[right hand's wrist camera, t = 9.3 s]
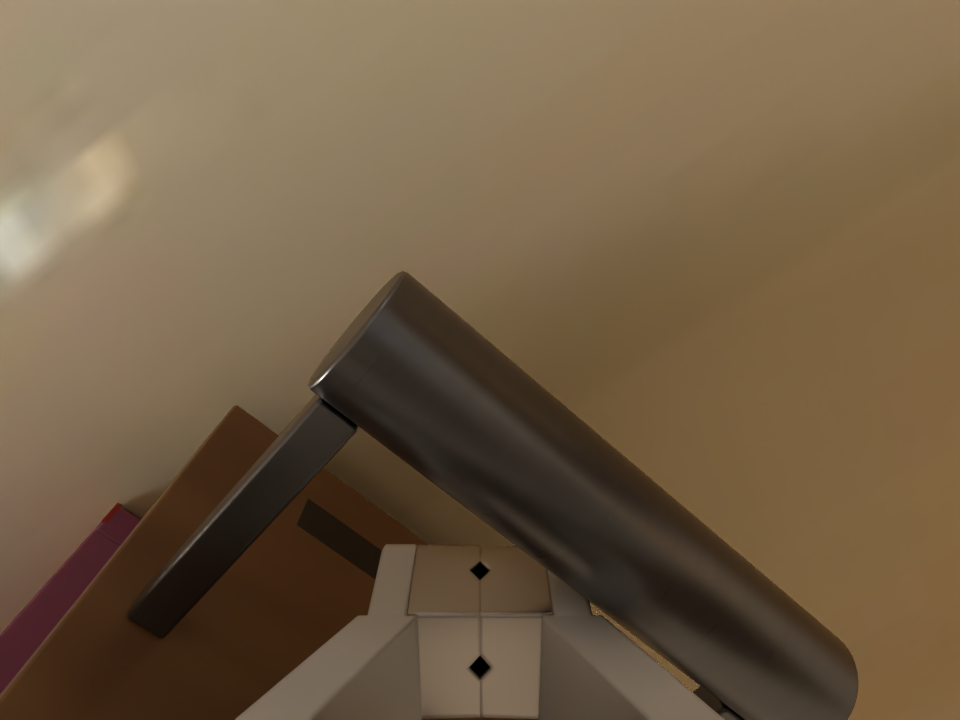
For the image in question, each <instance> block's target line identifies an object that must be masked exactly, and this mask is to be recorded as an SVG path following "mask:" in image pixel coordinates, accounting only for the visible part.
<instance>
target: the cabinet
mask: <svg viewBox="0 0 960 720" xmlns="http://www.w3.org/2000/svg"><path fill="white" fill-rule="evenodd" d="M139 522H140V519H139V518H137V517H135V516H134V515H132V514H131V513H129V512H128V511H126V510H125V509H123V508H122V505H121V504H119V503H117V504H116V505H115V507H114V508H113V509H112V510H111V511H110V512H109V513H108V514H107V516H106V517H105V518H104V519H103V520H102V521H101V522H100V524H99V525H98V526H97V527H96V528H95V530H94V531H93V532H92V533H91V534H90V535H89V536H88V537H87V539H86V540H85V541H84V542H83V543H82V544H81V545H80V546H79V548H78V549H77V550H76V551H75V552H74V553H73V554H72V555H71V556H70V558H69V559H68V560H67V561H66V562H65V563H64V564H63V565H62V566H61V568H60V569H59V570H58V571H57V572H56V573H55V574H54V575H53V577H52V578H51V579H50V580H49V581H48V582H47V583H46V584H45V585H44V587H43V588H42V589H41V590H40V591H39V592H38V593H37V594H36V595H35V597H34V598H33V599H32V600H31V601H30V602H29V603H28V604H27V605H26V607H25V608H24V609H23V610H22V611H21V612H20V613H19V614H18V616H17V617H16V618H15V619H14V620H13V621H12V622H11V623H10V624H9V626H8V627H7V628H6V629H5V630H4V631H3V632H2V633H1V634H0V694H1V693H2V691H3V690H4V689H5V688H6V686H7V685H8V684H9V683H10V681H11V680H12V679H13V678H14V676H15V675H16V674H17V673H18V672H19V670H20V669H21V668H22V667H23V665H24V664H25V663H26V662H27V660H28V659H29V658H30V657H31V655H32V654H33V653H34V652H35V650H36V649H37V648H38V647H39V646H40V644H41V643H42V642H43V641H44V639H45V638H46V637H47V636H48V634H49V633H50V632H51V631H52V629H53V628H54V627H55V626H56V624H57V623H58V622H59V621H60V620H61V618H62V617H63V616H64V615H65V613H66V612H67V611H68V610H69V608H70V607H71V606H72V605H73V603H74V602H75V601H76V600H77V598H78V597H79V596H80V595H81V594H82V592H83V591H84V590H85V589H86V587H87V586H88V585H89V584H90V582H91V581H92V580H93V579H94V577H95V576H96V575H97V574H98V572H99V571H100V570H101V569H102V568H103V566H104V565H105V564H106V563H107V561H108V560H109V559H110V558H111V556H112V555H113V554H114V553H115V551H116V550H117V549H118V548H119V546H120V545H121V544H122V543H123V542H124V540H125V539H126V538H127V537H128V535H129V534H130V533H131V532H132V530H133V529H134V528H135V527H136V525H137V524H138V523H139Z"/></svg>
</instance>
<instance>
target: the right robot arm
mask: <svg viewBox="0 0 960 720" xmlns="http://www.w3.org/2000/svg"><path fill="white" fill-rule="evenodd" d="M471 717H487V718H522V719H539V720H725V719H724V718H722V717H721V716H720V715H719V714H718V713H716V712H715V711H714V710H713V709H712V708H711V707H709V706H708V705H707V704H706V703H705V702H704V701H702V700H701V699H700V698H699V697H698V696H696V695H695V694H694V693H693V692H692V691H691V690H689V689H688V688H687V687H686V686H685V685H683V684H682V683H681V682H680V681H679V680H678V679H676V678H675V677H674V676H673V675H672V674H670V673H669V672H668V671H667V670H666V669H665V668H663V667H662V666H661V665H660V664H659V663H658V662H656V661H655V660H654V659H653V658H652V657H650V656H649V655H648V654H647V653H646V652H645V651H643V650H642V649H641V648H640V647H639V646H637V645H636V644H635V643H634V642H633V641H632V640H630V639H629V638H628V637H627V636H626V635H625V634H623V633H622V632H621V631H620V630H619V629H617V628H616V627H615V626H614V625H613V624H612V623H610V622H609V621H608V620H607V619H606V618H604V617H603V616H599V615H592V611H591V606H590V602H589V601H588V600H587V599H586V598H584V597H583V596H582V595H580V594H579V593H578V592H576V591H575V590H574V589H572V588H571V587H570V586H568V585H567V584H566V583H565V582H563V581H562V580H561V579H559V578H558V577H557V576H555V575H554V574H553V573H551V572H550V571H549V570H547V569H546V568H545V567H543V566H542V565H541V564H540V563H538V562H537V561H536V560H534V559H533V558H532V557H530V556H529V555H528V554H526V553H525V552H524V551H522V550H521V549H520V548H518V547H517V546H473V545H427V544H418V546H417V545H416V544H386V545H385V546H384V548H383V549H382V553H381V557H380V562H379V566H378V570H377V575H376V579H375V584H374V588H373V593H372V597H371V602H370V606H369V611H368V615H361V616H357V617H356V618H354V619H353V620H352V621H351V622H350V623H348V624H347V625H346V626H345V627H344V628H343V629H341V630H340V631H339V632H338V633H337V634H335V635H334V636H333V637H332V638H331V639H329V640H328V641H327V642H326V643H325V644H324V645H322V646H321V647H320V648H319V649H318V650H316V651H315V652H314V653H313V654H312V655H311V656H309V657H308V658H307V659H306V660H305V661H303V662H302V663H301V664H300V665H299V666H298V667H296V668H295V669H294V670H293V671H292V672H290V673H289V674H288V675H287V676H286V677H284V678H283V679H282V680H281V681H280V682H279V683H277V684H276V685H275V686H274V687H273V688H271V689H270V690H269V691H268V692H267V693H266V694H264V695H263V696H262V697H261V698H260V699H258V700H257V701H256V702H255V703H254V704H252V705H251V706H250V707H249V708H248V709H247V710H245V711H244V712H243V713H242V714H241V715H239V716H238V717H237V718H236V719H235V720H421V719H437V718H471Z"/></svg>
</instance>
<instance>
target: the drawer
mask: <svg viewBox="0 0 960 720" xmlns="http://www.w3.org/2000/svg"><path fill="white" fill-rule="evenodd" d="M308 386H309V388H310V390H312V391H313V392H314V393H316V395H315V396H314V397H313V398H312V399H311V400H310V401H309V402H308V404H307V405H306V406H305V407H304V408H303V409H302V410H301V412H300V413H299V414H298V415H297V416H296V417H295V418H294V419H293V421H292V422H291V423H290V424H289V425H288V426H287V427H286V428H285V430H284V431H283V432H282V433H281V434H280V435H277V434H276V433H275V432H273V431H272V430H270V429H269V428H268V427H266V426H265V425H264V424H262V423H261V422H259V421H258V420H257V419H255V418H254V417H253V416H251V415H250V414H248V413H247V412H246V411H244V410H243V409H242V408H240V407H239V406H237V405H236V406H234V407H233V408H232V409H231V410H230V411H229V413H228V414H227V415H226V416H225V417H224V419H223V420H222V421H221V422H220V423H219V425H218V426H217V427H216V428H215V429H214V430H213V432H212V433H211V434H210V435H209V436H208V438H207V439H206V440H205V441H204V442H203V444H202V445H201V446H200V447H199V449H198V450H197V451H196V452H195V454H194V455H193V456H192V457H191V459H190V460H189V461H188V462H187V463H186V465H185V466H184V467H183V468H182V470H181V471H180V472H179V473H178V475H177V476H176V477H175V478H174V480H173V481H172V482H171V483H170V485H169V486H168V487H167V488H166V489H165V491H164V492H163V493H162V494H161V496H160V497H159V498H158V499H157V501H156V502H155V503H154V504H153V506H152V507H151V508H150V509H149V511H148V512H147V513H146V514H145V515H144V517H143V518H142V519H141V520H140V522H139V523H138V524H137V525H136V527H135V528H134V529H133V530H132V532H131V533H130V534H129V535H128V537H127V538H126V539H125V540H124V542H123V543H122V544H121V545H120V546H119V548H118V549H117V550H116V551H115V553H114V554H113V555H112V556H111V558H110V559H109V560H108V561H107V563H106V564H105V565H104V566H103V568H102V569H101V570H100V571H99V572H98V574H97V575H96V576H95V577H94V579H93V580H92V581H91V582H90V584H89V585H88V586H87V587H86V589H85V590H84V591H83V592H82V594H81V595H80V596H79V597H78V598H77V600H76V601H75V602H74V603H73V605H72V606H71V607H70V608H69V610H68V611H67V612H66V613H65V615H64V616H63V617H62V618H61V620H60V621H59V622H58V623H57V624H56V626H55V627H54V628H53V629H52V631H51V632H50V633H49V634H48V636H47V637H46V638H45V639H44V641H43V642H42V643H41V644H40V646H39V647H38V648H37V649H36V650H35V652H34V653H33V654H32V655H31V657H30V658H29V659H28V660H27V662H26V663H25V664H24V665H23V667H22V668H21V669H20V670H19V672H18V673H17V674H16V675H15V676H14V678H13V679H12V680H11V681H10V683H9V684H8V685H7V686H6V688H5V689H4V690H3V691H2V693H1V694H0V720H235V719H236V718H237V717H238V716H239V715H241V714H242V713H243V712H244V711H245V710H247V709H248V708H249V707H250V706H251V705H252V704H254V703H255V702H256V701H257V700H258V699H260V698H261V697H262V696H263V695H264V694H266V693H267V692H268V691H269V690H270V689H271V688H273V687H274V686H275V685H276V684H277V683H279V682H280V681H281V680H282V679H283V678H284V677H286V676H287V675H288V674H289V673H290V672H292V671H293V670H294V669H295V668H296V667H298V666H299V665H300V664H301V663H302V662H303V661H305V660H306V659H307V658H308V657H309V656H311V655H312V654H313V653H314V652H315V651H316V650H318V649H319V648H320V647H321V646H322V645H324V644H325V643H326V642H327V641H328V640H329V639H331V638H332V637H333V636H334V635H335V634H337V633H338V632H339V631H340V630H341V629H343V628H344V627H345V626H346V625H347V624H348V623H350V622H351V621H352V620H353V619H354V618H356V617H357V616H361V615H368V611H369V606H370V602H371V597H372V593H373V588H374V584H375V579H376V575H377V570H378V566H379V562H380V557H381V553H382V549H383V548H384V546H385V545H386V544H416V545H417V546H418V544H427V543H426V542H424V541H423V540H421V539H420V538H419V537H417V536H416V535H415V534H413V533H412V532H411V531H409V530H408V529H406V528H405V527H404V526H402V525H401V524H400V523H398V522H397V521H395V520H394V519H393V518H391V517H390V516H389V515H387V514H386V513H384V512H383V511H382V510H380V509H379V508H378V507H376V506H375V505H373V504H372V503H371V502H369V501H368V500H367V499H365V498H364V497H362V496H361V495H360V494H358V493H357V492H356V491H354V490H353V489H351V488H350V487H349V486H347V485H346V484H345V483H343V482H342V481H340V480H339V479H338V478H336V477H335V476H334V475H332V474H331V473H329V472H328V471H327V470H325V469H324V468H323V467H324V466H325V465H326V464H327V463H328V462H329V461H330V460H331V459H332V458H333V457H334V456H335V454H336V453H337V452H338V451H339V450H340V449H341V448H342V447H343V446H344V445H345V444H346V443H347V442H348V440H349V439H350V438H351V437H352V436H353V435H354V434H355V433H356V431H357V429H358V426H359V427H360V428H362V429H363V430H364V431H366V432H367V433H368V434H370V435H371V436H372V437H373V438H375V439H376V440H377V441H379V442H380V443H381V444H383V445H384V446H385V447H387V448H388V449H389V450H391V451H392V452H393V453H395V454H396V455H397V456H399V457H400V458H401V459H402V460H404V461H405V462H406V463H408V464H409V465H410V466H412V467H413V468H414V469H416V470H417V471H418V472H420V473H421V474H422V475H424V476H425V477H426V478H428V479H429V480H430V481H431V482H433V483H434V484H435V485H437V486H438V487H439V488H441V489H442V490H443V491H445V492H446V493H447V494H449V495H450V496H451V497H453V498H454V499H455V500H456V501H458V502H459V503H460V504H462V505H463V506H464V507H466V508H467V509H468V510H470V511H471V512H472V513H474V514H475V515H476V516H478V517H479V518H480V519H482V520H483V521H484V522H485V523H487V524H488V525H489V526H491V527H492V528H493V529H495V530H496V531H497V532H499V533H500V534H501V535H503V536H504V537H505V538H507V539H508V540H509V541H511V542H512V543H513V544H514V545H516V546H517V547H518V548H520V549H521V550H522V551H524V552H525V553H526V554H528V555H529V556H530V557H532V558H533V559H534V560H536V561H537V562H538V563H540V564H541V565H542V566H543V567H545V568H546V569H547V570H549V571H550V572H551V573H553V574H554V575H555V576H557V577H558V578H559V579H561V580H562V581H563V582H565V583H566V584H567V585H568V586H570V587H571V588H572V589H574V590H575V591H576V592H578V593H579V594H580V595H582V596H583V597H584V598H586V599H587V600H588V601H590V602H591V603H592V604H594V605H595V606H596V607H597V608H599V609H600V610H601V611H603V612H604V613H605V614H607V615H608V616H609V617H611V618H612V619H613V620H615V621H616V622H617V623H619V624H620V625H621V626H623V627H624V628H625V629H626V630H628V631H629V632H630V633H632V634H633V635H634V636H636V637H637V638H638V639H640V640H641V641H642V642H644V643H645V644H646V645H648V646H649V647H650V648H652V649H653V650H654V651H655V652H657V653H658V654H659V655H661V656H662V657H663V658H665V659H666V660H667V661H669V662H670V663H671V664H673V665H674V666H675V667H677V668H678V669H679V670H680V671H682V672H683V673H684V674H686V675H687V676H688V677H690V678H691V679H692V680H694V681H695V682H696V683H698V684H699V685H700V687H699V688H697V689H696V690H695V691H693V693H694V694H695V695H696V696H698V697H699V698H700V699H701V700H702V701H704V702H705V703H706V704H707V705H708V706H709V707H711V708H712V709H713V710H714V711H715V712H716V713H718V714H719V715H720V716H721V717H722V718H724V719H725V720H847V719H848V717H849V716H850V714H851V712H852V710H853V707H854V705H855V702H856V698H857V693H858V673H857V669H856V665H855V662H854V659H853V657H852V655H851V653H850V651H849V649H848V648H847V647H846V645H845V644H844V643H843V642H842V641H841V640H840V639H839V638H838V637H837V636H835V635H834V634H833V633H832V632H831V631H830V630H828V629H827V628H826V627H825V626H824V625H822V624H821V623H820V622H819V621H818V620H817V619H815V618H814V617H813V616H812V615H811V614H809V613H808V612H807V611H806V610H805V609H804V608H802V607H801V606H800V605H799V604H798V603H796V602H795V601H794V600H793V599H792V598H791V597H789V596H788V595H787V594H786V593H785V592H784V591H782V590H781V589H780V588H779V587H778V586H776V585H775V584H774V583H773V582H772V581H771V580H769V579H768V578H767V577H766V576H765V575H763V574H762V573H761V572H760V571H759V570H758V569H756V568H755V567H754V566H753V565H752V564H751V563H749V562H748V561H747V560H746V559H745V558H743V557H742V556H741V555H740V554H739V553H738V552H736V551H735V550H734V549H733V548H732V547H730V546H729V545H728V544H727V543H726V542H725V541H723V540H722V539H721V538H720V537H719V536H718V535H716V534H715V533H714V532H713V531H712V530H710V529H709V528H708V527H707V526H706V525H705V524H703V523H702V522H701V521H700V520H699V519H697V518H696V517H695V516H694V515H693V514H692V513H690V512H689V511H688V510H687V509H686V508H685V507H683V506H682V505H681V504H680V503H679V502H677V501H676V500H675V499H674V498H673V497H672V496H670V495H669V494H668V493H667V492H666V491H664V490H663V489H662V488H661V487H660V486H659V485H657V484H656V483H655V482H654V481H653V480H651V479H650V478H649V477H648V476H647V475H646V474H644V473H643V472H642V471H641V470H640V469H639V468H637V467H636V466H635V465H634V464H633V463H631V462H630V461H629V460H628V459H627V458H626V457H624V456H623V455H622V454H621V453H620V452H618V451H617V450H616V449H615V448H614V447H613V446H611V445H610V444H609V443H608V442H607V441H606V440H604V439H603V438H602V437H601V436H600V435H598V434H597V433H596V432H595V431H594V430H593V429H591V428H590V427H589V426H588V425H587V424H585V423H584V422H583V421H582V420H581V419H580V418H578V417H577V416H576V415H575V414H574V413H573V412H571V411H570V410H569V409H568V408H567V407H565V406H564V405H563V404H562V403H561V402H560V401H558V400H557V399H556V398H555V397H554V396H552V395H551V394H550V393H549V392H548V391H547V390H545V389H544V388H543V387H542V386H541V385H540V384H538V383H537V382H536V381H535V380H534V379H532V378H531V377H530V376H529V375H528V374H527V373H525V372H524V371H523V370H522V369H521V368H519V367H518V366H517V365H516V364H515V363H514V362H512V361H511V360H510V359H509V358H508V357H506V356H505V355H504V354H503V353H502V352H501V351H499V350H498V349H497V348H496V347H495V346H494V345H492V344H491V343H490V342H489V341H488V340H486V339H485V338H484V337H483V336H482V335H481V334H479V333H478V332H477V331H476V330H475V329H473V328H472V327H471V326H470V325H469V324H468V323H466V322H465V321H464V320H463V319H462V318H461V317H459V316H458V315H457V314H456V313H455V312H453V311H452V310H451V309H450V308H449V307H448V306H446V305H445V304H444V303H443V302H442V301H440V300H439V299H438V298H437V297H436V296H435V295H433V294H432V293H431V292H430V291H429V290H428V289H426V288H425V287H424V286H423V285H422V284H420V283H419V282H418V281H417V280H416V279H415V278H413V277H412V276H411V275H410V274H409V273H407V272H405V271H402V272H400V273H398V274H397V275H395V276H394V277H393V278H392V279H391V280H390V281H389V282H388V283H387V284H386V285H385V286H384V287H383V288H382V289H381V290H380V291H379V292H378V293H377V294H376V296H375V297H374V298H373V299H372V300H371V301H370V302H369V303H368V305H367V306H366V307H365V308H364V309H363V310H362V312H361V313H360V314H359V315H358V316H357V317H356V319H355V320H354V321H353V322H352V323H351V325H350V326H349V327H348V328H347V329H346V331H345V332H344V333H343V334H342V336H341V337H340V338H339V339H338V341H337V342H336V343H335V345H334V346H333V347H332V348H331V350H330V351H329V352H328V354H327V355H326V356H325V358H324V359H323V360H322V362H321V363H320V365H319V366H318V367H317V369H316V370H315V372H314V373H313V375H312V377H311V379H310V381H309V384H308ZM427 545H428V544H427ZM421 720H539V719H522V718H487V717H471V718H437V719H421Z"/></svg>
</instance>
